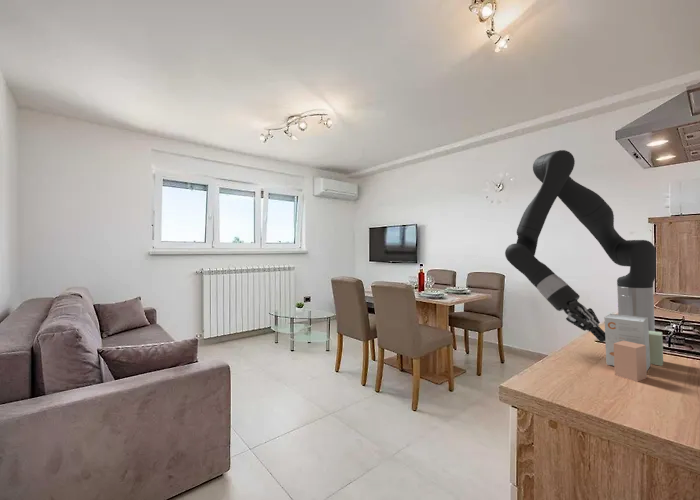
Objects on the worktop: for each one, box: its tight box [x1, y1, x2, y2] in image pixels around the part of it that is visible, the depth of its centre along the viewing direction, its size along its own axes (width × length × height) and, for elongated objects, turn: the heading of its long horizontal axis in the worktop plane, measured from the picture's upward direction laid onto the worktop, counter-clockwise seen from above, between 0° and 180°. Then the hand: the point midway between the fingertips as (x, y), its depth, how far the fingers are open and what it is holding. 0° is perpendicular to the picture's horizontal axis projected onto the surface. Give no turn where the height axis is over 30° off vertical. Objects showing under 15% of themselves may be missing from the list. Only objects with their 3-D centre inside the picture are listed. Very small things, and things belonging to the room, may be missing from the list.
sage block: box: [649, 330, 664, 367], centre depth 86 cm, size 4×4×8 cm
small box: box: [603, 313, 651, 371], centre depth 84 cm, size 8×6×13 cm
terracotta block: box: [613, 341, 648, 383], centre depth 78 cm, size 4×4×8 cm
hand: (605, 340), depth 88 cm, fingers closed
